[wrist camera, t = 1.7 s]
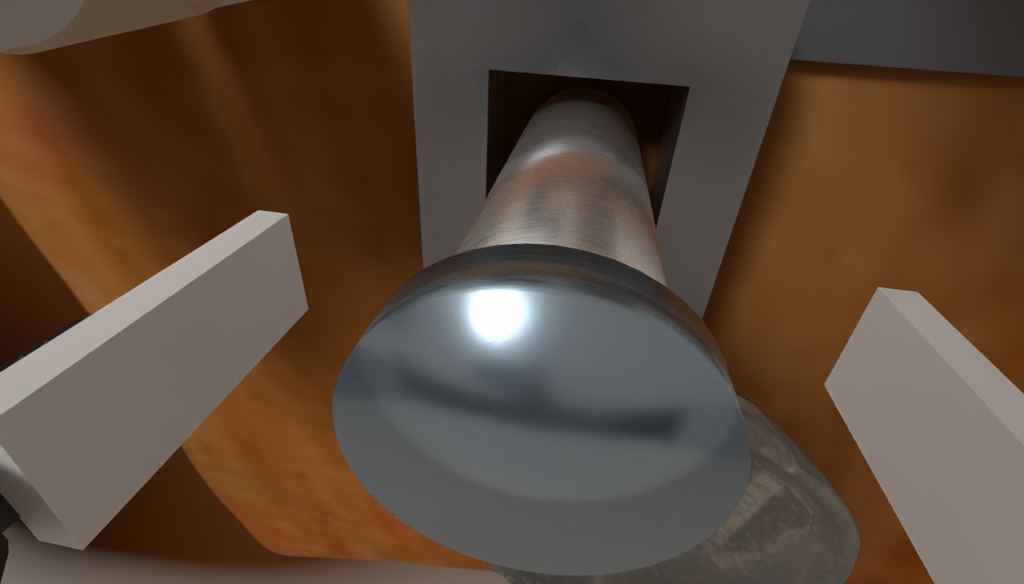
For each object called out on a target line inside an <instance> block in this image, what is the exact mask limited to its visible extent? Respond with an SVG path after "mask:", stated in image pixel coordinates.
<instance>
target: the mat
mask: <svg viewBox="0 0 1024 584" xmlns="http://www.w3.org/2000/svg"><path fill="white" fill-rule="evenodd" d="M790 59H791V60H805V61H818V62H831V63H844V64H857V65H870V66H883V67H896V68H909V69H922V70H935V71H948V72H961V73H975V74H988V75H1001V76H1014V77H1024V0H810V1H809V4H808V7H807V10H806V13H805V16H804V19H803V22H802V25H801V28H800V31H799V34H798V37H797V40H796V43H795V46H794V49H793V52H792V55H791V58H790Z"/></svg>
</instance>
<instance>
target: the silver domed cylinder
mask: <svg viewBox="0 0 1024 584" xmlns="http://www.w3.org/2000/svg"><path fill="white" fill-rule="evenodd" d="M332 418H333V425H334V431H335V435H336V438H337V441H338V444H339V447H340V450H341V452H342V454H343V456H344V458H345V460H346V462H347V464H348V465H349V467H350V468H351V470H352V471H353V473H354V475H355V476H356V478H357V479H358V480H359V482H360V483H361V484H362V485H363V486H364V487H365V489H366V490H367V491H368V492H369V493H370V495H372V496H373V497H374V498H375V499H376V500H377V501H378V502H379V503H380V504H381V505H382V506H383V507H384V508H385V509H386V510H388V511H389V512H390V513H391V514H393V515H394V516H395V517H396V518H398V519H399V520H400V521H402V522H403V523H405V524H406V525H408V526H409V527H411V528H412V529H414V530H415V531H417V532H419V533H420V534H422V535H424V536H426V537H428V538H429V539H431V540H433V541H435V542H437V543H439V544H441V545H443V546H445V547H447V548H450V549H452V550H454V551H456V552H459V553H462V554H464V555H467V556H470V557H472V558H475V559H478V560H481V561H485V562H488V563H491V564H495V565H499V566H503V567H507V568H512V569H516V570H522V571H528V572H534V573H542V574H553V575H574V576H585V575H604V574H611V573H619V572H626V571H631V570H635V569H640V568H644V567H648V566H651V565H654V564H657V563H661V562H664V561H666V560H669V559H671V558H673V557H676V556H678V555H680V554H683V553H685V552H686V551H688V550H690V549H692V548H693V547H695V546H697V545H698V544H700V543H702V542H703V541H704V540H706V539H707V538H708V537H709V536H711V535H712V534H713V533H715V532H716V531H717V530H718V529H719V528H720V527H721V526H722V525H723V524H724V523H725V522H726V521H727V519H728V518H729V517H730V516H731V515H732V513H733V511H734V510H735V508H736V507H737V505H738V504H739V502H740V501H741V498H742V496H743V493H744V491H745V488H746V486H747V484H748V478H749V473H750V467H751V453H750V441H749V437H748V434H747V430H746V426H745V422H744V419H743V416H742V412H741V409H740V406H739V403H738V400H737V397H736V393H735V390H734V387H733V384H732V381H731V378H730V374H729V371H728V368H727V365H726V362H725V359H724V357H723V354H722V352H721V350H720V348H719V346H718V344H717V341H716V339H715V338H714V336H713V335H712V334H711V332H710V331H709V329H708V328H707V326H706V325H705V323H704V322H703V320H702V319H701V318H700V317H699V316H698V315H697V314H696V313H695V312H694V311H693V310H692V309H691V308H690V307H689V305H688V304H687V303H686V302H685V301H683V300H682V299H681V298H680V297H678V296H677V295H676V294H675V293H673V292H672V291H671V290H670V289H668V286H667V281H666V276H665V272H664V267H663V262H662V257H661V252H660V247H659V242H658V237H657V232H656V227H655V222H654V217H653V212H652V207H651V203H650V198H649V193H648V188H647V183H646V178H645V173H644V168H643V163H642V158H641V153H640V148H639V143H638V139H637V134H636V129H635V126H634V123H633V120H632V118H631V116H630V115H629V113H628V111H627V110H626V109H625V107H624V106H623V105H622V104H621V103H620V102H619V101H618V100H617V99H615V98H614V97H612V96H611V95H609V94H607V93H605V92H603V91H600V90H597V89H592V88H571V89H568V90H564V91H561V92H559V93H556V94H555V95H553V96H551V97H550V98H548V99H547V100H546V101H544V102H543V103H542V104H541V105H540V106H539V107H538V108H537V110H536V111H535V112H534V114H533V115H532V117H531V119H530V120H529V122H528V124H527V126H526V128H525V129H524V131H523V133H522V135H521V137H520V139H519V140H518V142H517V144H516V146H515V148H514V149H513V151H512V153H511V155H510V157H509V158H508V160H507V162H506V164H505V166H504V167H503V169H502V171H501V173H500V175H499V176H498V178H497V180H496V182H495V184H494V185H493V187H492V189H491V191H490V193H489V194H488V196H487V198H486V200H485V202H484V203H483V205H482V207H481V209H480V211H479V212H478V214H477V216H476V218H475V220H474V222H473V223H472V225H471V227H470V229H469V231H468V232H467V234H466V236H465V238H464V240H463V241H462V243H461V245H460V247H459V249H458V250H457V252H456V254H455V255H453V256H450V257H447V258H445V259H443V260H441V261H439V262H437V263H434V264H432V265H430V266H428V267H426V268H424V269H423V270H422V271H420V272H419V273H417V274H416V275H414V276H413V277H411V278H410V279H408V280H407V281H406V282H405V283H404V284H403V285H402V286H400V287H399V288H398V289H397V290H396V291H395V292H394V293H393V294H392V295H391V296H390V298H389V299H388V301H387V302H386V303H385V305H384V306H383V307H382V309H381V310H380V311H379V313H378V314H377V316H376V317H375V319H374V320H373V321H372V323H371V324H370V326H369V327H368V329H367V330H366V332H365V333H364V335H363V336H362V337H361V339H360V340H359V342H358V343H357V345H356V346H355V348H354V349H353V350H352V352H351V353H350V355H349V356H348V358H347V359H346V361H345V363H344V365H343V367H342V369H341V371H340V373H339V375H338V377H337V381H336V385H335V389H334V393H333V401H332Z"/></svg>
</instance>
